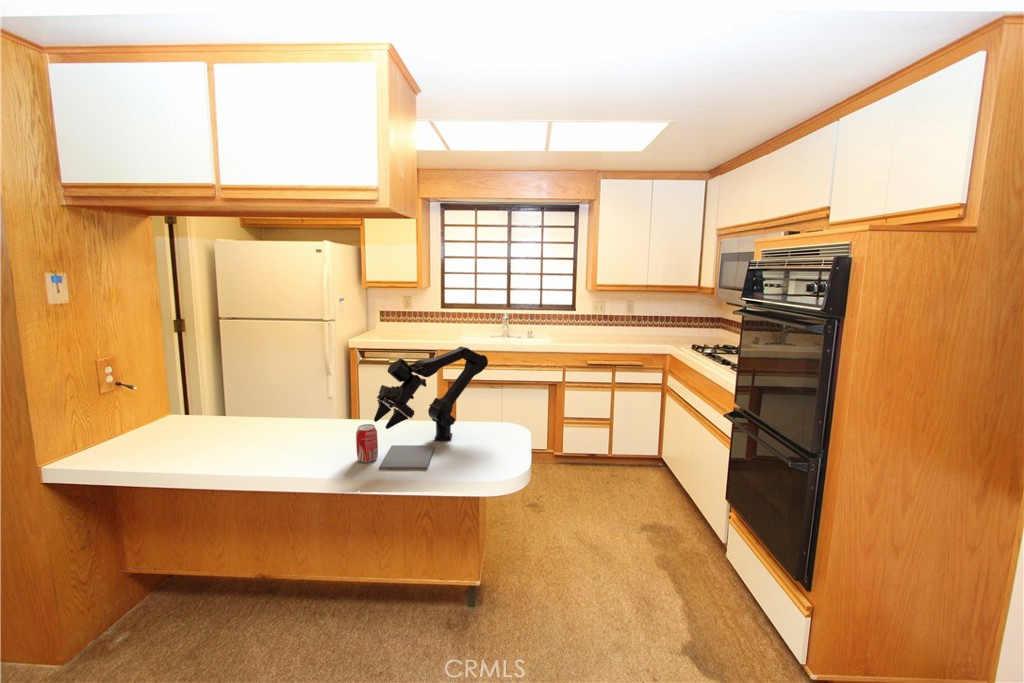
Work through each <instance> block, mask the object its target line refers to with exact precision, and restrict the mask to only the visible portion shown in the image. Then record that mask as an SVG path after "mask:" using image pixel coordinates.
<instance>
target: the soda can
mask: <svg viewBox="0 0 1024 683" xmlns="http://www.w3.org/2000/svg"><path fill="white" fill-rule="evenodd" d="M355 440H356V441H355V444H356V445H355V446H356V457H357V460H358V461H360V462H361V463H367V464H368V463H372V462H375V460H377V459H378V457H379V448H378V447H379V444H378V440H379V439H378V431H377V429H376V426H375V425H374V424H372V423H371V424H370V423H366V424H365V423H364V424H361V425H359V426H358V427H357V431H356V432H355Z"/></svg>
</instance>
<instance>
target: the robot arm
mask: <svg viewBox="0 0 1024 683" xmlns="http://www.w3.org/2000/svg"><path fill="white" fill-rule="evenodd" d="M460 360H464V361H465V363H464V368H463V370H462V371H461V373H460V374H459V375H458V377H457V378H456V379H455V381H454V382H453V383H452V385H450V387H449V389H448V390H447V391H446V393H445V394H444V395H443V396H442V397H441V398H438V397H435V398H434V399H433V401H432V403H431V404H429V408H428V410H427V411H428V416H429V418H431V420H432V422H435V436H434V438H433V441H451V440H452V439H453V438H452V437H453V433H452V429H451V427H452V426H453V425H455V421H456V418H455V417H453V415H452V412H453V408H454V404H455V403H456V401H457V400H458V398H459V397H460V396H461V395H462V394H463V392H464V390H465V389H466V388H467V387H468V385H469V383H470V382H471V381H472V379H473V378H474V377H475V376H477V375H479V374H480V373H481V372H483V371H484V370H485V369H486V367H487V366H488V364H489V362H488V361H489V360H488V357H487V356H486V355H485V354H481V353H477V352H475V351H473V350H471V349H470V348H469V347H466V346H459V347H457V348H455V349H453V350H450V351H447V352H445V353H442V354H440V355H438V356H435V357H430V358H429V357H428V358H422V359H417V360H415V362H414V363H411V364H408V363H407V362H406V361H405V360H404V359H403V358H398V360H395V361H394V362H393V363H390V365H389V366H388V367H387V373H388V374H389V375H390V376H392V377H393V378H394V379H395V380H396V381H397V382H399V383H401V384H400V386H399V385H397V386H393V385H392V386H387V385H385V384H381V386H380V389H379V391H378V395H377V396H376V399H377V402H378V403H377V404H378V407H377V410H376V414H375V415H374V418H373V422H375V423H376V422H378V421H379V420H381V419H383V417H385V416H386V415H387V414H388V413H389V412H391V411H392V409H393V414H392V416H391V417H390V418H389V420H388V421H387V423H386V424H385V429H386V430H389V429H391V428H393V427H394V426H396V425H398V424H399V423H402V422H404V421H406V420H409V419H412V418H413V417H414V415H415V410H414V409H413V408H411V407H410V406H409V405H408V403H409V401H410V400H414V399H415V397H414V395H415V394H416V392H417V391H418V389H419V388H420V387H421V386H422V387H425V388H426V387H427V380H426V378H431V377H432V376H434V374H436V373H438V371H439V370H440V369H441V368H443V367H446V366H448V365H451V364H453V363H455V362H458V361H460ZM423 377H424V378H423Z"/></svg>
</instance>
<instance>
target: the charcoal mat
mask: <svg viewBox="0 0 1024 683" xmlns="http://www.w3.org/2000/svg"><path fill="white" fill-rule="evenodd" d="M435 449H436V445H435V444H434V445H433V444H432V445H431V444H428V445H427V444H426V445H424V444H423V445H421V444H420V445H419V444H416V445H414V444H413V445H412V444H411V445H410V444H407V445H398V444H397V445H396V444H395V445H391V446H390V447H389V449H388V451H387V453H386V454H385V456H384V458H383V460H381V463H380V464H379V467H378V469H379V470H380V471H382V470H383V471H384V470H387V471H389V470H390V471H391V470H395V471H397V470H399V471H401V470H404V471H405V470H406V471H408V470H413V471H416V470H421V471H422V470H423V471H424V470H426V471H427V470H428V468H429V466H430V462H431V460H432V457H433V454H434V451H435Z"/></svg>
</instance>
